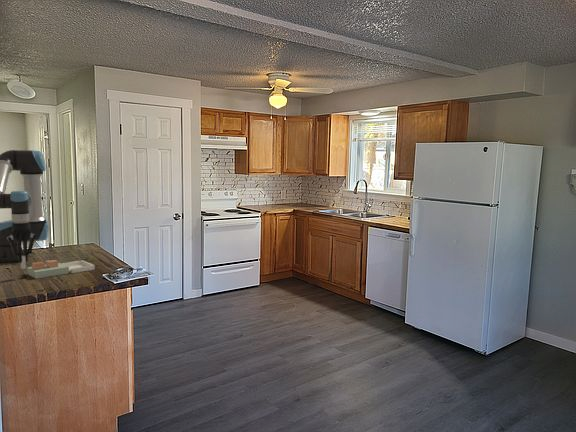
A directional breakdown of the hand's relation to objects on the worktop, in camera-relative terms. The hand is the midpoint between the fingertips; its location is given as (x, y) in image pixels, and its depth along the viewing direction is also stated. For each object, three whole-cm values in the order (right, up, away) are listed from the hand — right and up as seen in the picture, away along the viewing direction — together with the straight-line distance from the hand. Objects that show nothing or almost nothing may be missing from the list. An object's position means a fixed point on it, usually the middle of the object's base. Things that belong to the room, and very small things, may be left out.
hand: (23, 268), depth 219 cm
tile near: (+5, -1, +5) cm, 7 cm away
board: (+8, -4, +9) cm, 12 cm away
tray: (+18, -3, +20) cm, 27 cm away
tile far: (+9, 0, +10) cm, 14 cm away
